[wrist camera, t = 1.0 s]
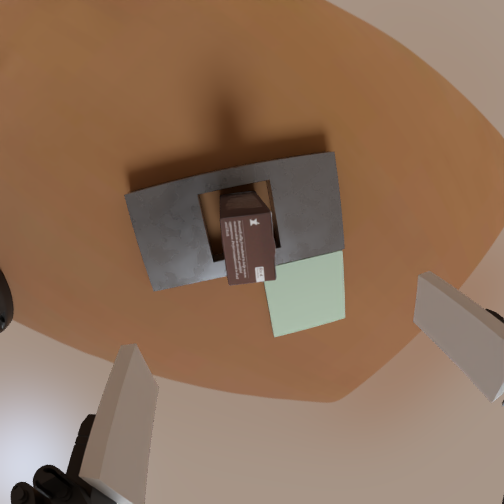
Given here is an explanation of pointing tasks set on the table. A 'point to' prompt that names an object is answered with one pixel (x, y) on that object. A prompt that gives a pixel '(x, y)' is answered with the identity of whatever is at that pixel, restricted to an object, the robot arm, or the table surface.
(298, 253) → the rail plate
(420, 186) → the table surface
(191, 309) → the table surface
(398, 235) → the table surface
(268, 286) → the pad
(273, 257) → the box
